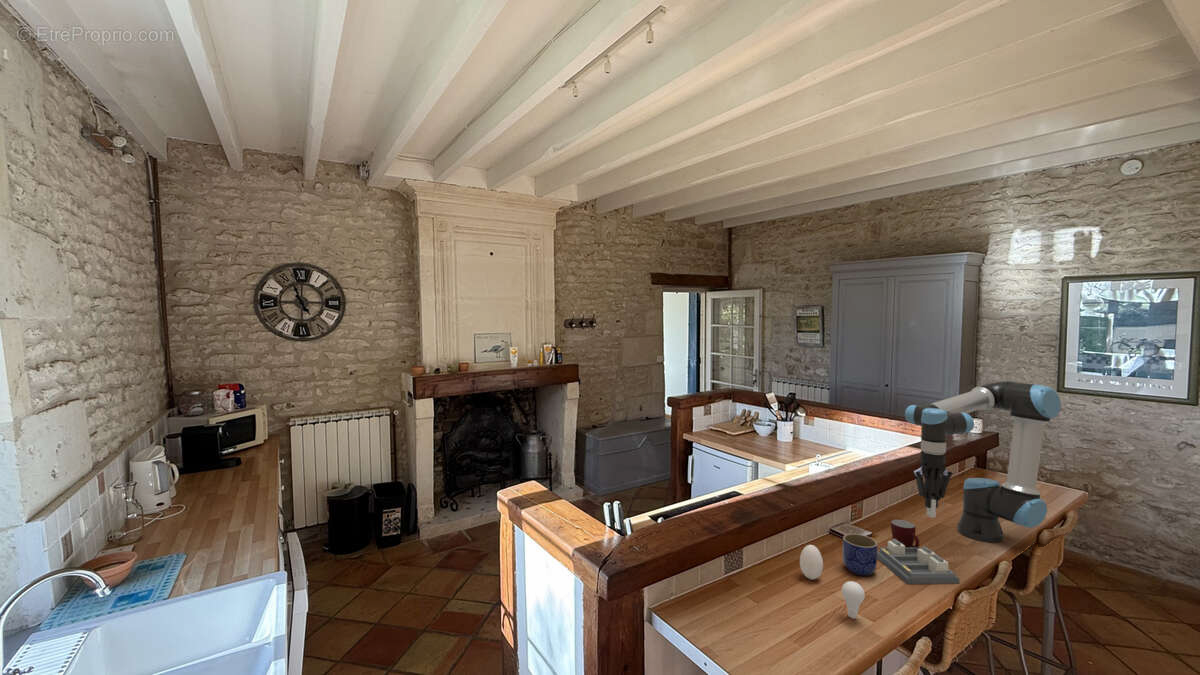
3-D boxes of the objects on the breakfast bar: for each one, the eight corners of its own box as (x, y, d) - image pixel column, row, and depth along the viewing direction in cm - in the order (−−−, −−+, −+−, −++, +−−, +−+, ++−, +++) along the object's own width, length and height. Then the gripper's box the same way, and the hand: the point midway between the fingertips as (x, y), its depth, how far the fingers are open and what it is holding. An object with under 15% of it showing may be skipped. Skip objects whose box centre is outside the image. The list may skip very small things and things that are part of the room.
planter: (873, 565, 177) (874, 535, 176) (879, 581, 167) (880, 549, 166) (840, 560, 181) (840, 531, 180) (844, 575, 170) (845, 544, 170)
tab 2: (927, 560, 176) (928, 545, 176) (935, 566, 172) (936, 551, 172) (917, 560, 176) (917, 546, 176) (924, 566, 172) (924, 551, 172)
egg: (797, 580, 168) (797, 546, 167) (802, 570, 174) (802, 538, 173) (820, 586, 163) (821, 552, 163) (824, 576, 170) (825, 543, 169)
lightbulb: (837, 612, 149) (837, 577, 149) (856, 611, 150) (856, 576, 149) (848, 625, 143) (849, 588, 143) (868, 624, 144) (869, 587, 143)
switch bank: (922, 556, 184) (922, 546, 183) (959, 583, 165) (959, 572, 165) (875, 556, 183) (875, 547, 183) (906, 583, 165) (906, 573, 165)
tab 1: (898, 552, 182) (898, 538, 182) (904, 558, 178) (905, 543, 178) (887, 552, 182) (887, 538, 182) (893, 558, 178) (894, 543, 178)
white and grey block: (939, 569, 170) (940, 554, 170) (947, 575, 166) (948, 559, 166) (928, 569, 170) (928, 554, 170) (936, 575, 166) (936, 559, 166)
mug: (926, 554, 185) (926, 528, 185) (913, 558, 181) (913, 532, 181) (899, 543, 194) (899, 518, 194) (886, 547, 191) (886, 521, 191)
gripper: (944, 449, 178) (942, 512, 180) (908, 449, 179) (906, 511, 180) (958, 455, 171) (956, 520, 172) (921, 454, 171) (919, 520, 172)
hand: (931, 516), depth 176 cm, fingers closed
